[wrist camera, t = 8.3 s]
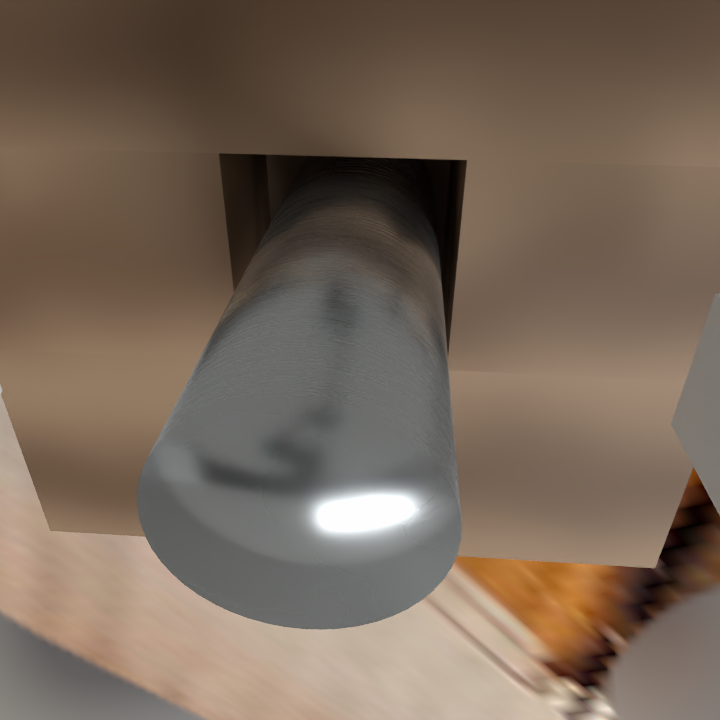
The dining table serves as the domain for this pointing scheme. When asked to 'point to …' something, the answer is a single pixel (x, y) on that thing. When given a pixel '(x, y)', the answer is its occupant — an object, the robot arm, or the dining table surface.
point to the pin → (319, 414)
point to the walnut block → (453, 215)
